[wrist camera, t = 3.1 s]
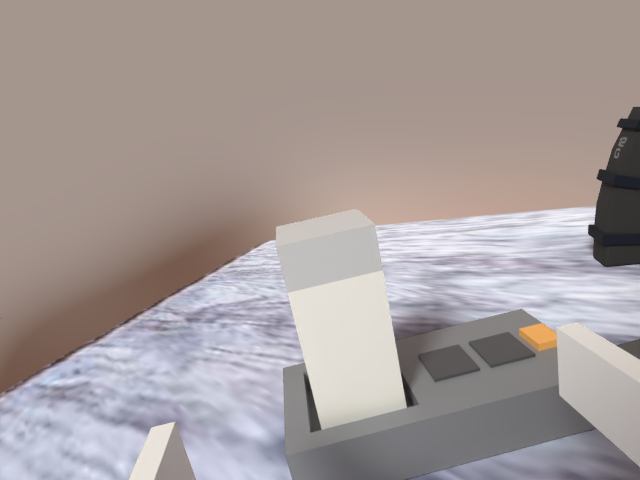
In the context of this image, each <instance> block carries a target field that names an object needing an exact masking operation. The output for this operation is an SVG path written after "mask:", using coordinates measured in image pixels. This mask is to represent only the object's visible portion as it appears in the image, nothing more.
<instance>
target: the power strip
mask: <svg viewBox="0 0 640 480" xmlns="http://www.w3.org/2000/svg"><path fill="white" fill-rule="evenodd" d="M395 343H396V349H397V355H398V360H399V366H400V372H401V377H402V383H403V389H404V395H405V400H406V406H407V408H404V409H400V410H397V411H393V412H389V413H385V414H381V415H377V416H373V417H369V418H366V419H362V420H358V421H354V422H350V423H346V424H342V425H338V426H335V427H331V428H327V429H323V430H322V429H321V425H320V421H319V417H318V413H317V409H316V405H315V401H314V397H313V393H312V389H311V385H310V381H309V377H308V373H307V369H306V365H305V363H302V364H298V365H294V366H290V367H286V368H283V383H284V416H285V450H286V459H287V462H288V466H289V469H290V473H291V476H292V480H405V479H409V478H413V477H417V476H420V475H424V474H428V473H431V472H435V471H439V470H443V469H446V468H450V467H454V466H458V465H461V464H465V463H469V462H473V461H476V460H480V459H484V458H487V457H491V456H495V455H499V454H502V453H506V452H510V451H514V450H517V449H521V448H525V447H529V446H532V445H536V444H540V443H543V442H547V441H551V440H555V439H558V438H562V437H566V436H570V435H573V434H577V433H581V432H585V431H588V430H592V429H596V427H594V426H593V425H592V424H591V423H590V422H589V421H588V420H587V419H586V418H584V417H583V416H582V415H581V414H580V413H579V412H578V411H577V410H575V409H574V408H573V407H572V406H571V405H570V404H569V403H568V402H566V401H565V400H564V399H563V398H562V397H561V396H560V395H559V376H558V354H557V333H556V332H554V331H553V330H552V329H550V328H549V327H547V326H546V325H544V324H543V323H541V322H540V321H538V320H537V319H535V318H534V317H532V316H531V315H530V314H528V313H527V312H525V311H524V310H522V309H520V310H516V311H512V312H508V313H504V314H500V315H496V316H492V317H488V318H483V319H479V320H475V321H471V322H467V323H463V324H459V325H455V326H451V327H447V328H443V329H439V330H435V331H431V332H427V333H423V334H419V335H415V336H411V337H407V338H403V339H399V340H395ZM616 346H618V347H619V348H621V349H623V350H624V351H626V352H628V353H629V354H631V355H633V356H634V357H636V358H638V359H639V360H640V339H639V340H635V341H631V342H627V343H623V344H619V345H616Z"/></svg>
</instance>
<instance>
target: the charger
mask: <svg viewBox="0 0 640 480" xmlns="http://www.w3.org/2000/svg"><path fill="white" fill-rule="evenodd" d="M276 248H277V252H278V256H279V260H280V264H281V268H282V272H283V276H284V280H285V284H286V289H287V293H288V297H289V301H290V305H291V309H292V313H293V317H294V321H295V325H296V329H297V333H298V337H299V341H300V345H301V349H302V353H303V357H304V361H305V365H306V369H307V373H308V377H309V381H310V385H311V389H312V393H313V397H314V401H315V405H316V409H317V413H318V417H319V421H320V425H321V429H322V430H323V429H327V428H331V427H335V426H338V425H342V424H346V423H350V422H354V421H358V420H362V419H366V418H369V417H373V416H377V415H381V414H385V413H389V412H393V411H397V410H400V409H404V408H407V406H406V400H405V395H404V389H403V383H402V377H401V372H400V366H399V360H398V355H397V349H396V343H395V337H394V332H393V326H392V320H391V315H390V309H389V303H388V297H387V292H386V286H385V280H384V274H383V269H382V263H381V257H380V252H379V246H378V240H377V234H376V229H375V224H374V223H373V222H372V221H371V220H370V219H368V218H367V217H366V216H365V215H363V214H362V213H361V212H360V211H359V210H358V209H354V210H349V211H344V212H340V213H336V214H331V215H327V216H322V217H318V218H313V219H309V220H305V221H300V222H296V223H292V224H287V225H283V226H278V227H276Z"/></svg>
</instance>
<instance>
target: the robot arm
mask: <svg viewBox="0 0 640 480" xmlns="http://www.w3.org/2000/svg"><path fill="white" fill-rule="evenodd" d="M556 332H557V354H558V376H559V395H560V396H561V397H562V398H563V399H564V400H565V401H566V402H568V403H569V404H570V405H571V406H572V407H573V408H574V409H575V410H577V411H578V412H579V413H580V414H581V415H582V416H583V417H584V418H586V419H587V420H588V421H589V422H590V423H591V424H592V425H593V426H594V427H596V428H597V429H598V430H599V431H600V432H601V433H602V434H603V435H605V436H606V437H607V438H608V439H609V440H610V441H611V442H612V443H613V444H615V445H616V446H617V447H618V448H619V449H620V450H621V451H622V452H624V453H625V454H626V455H627V456H628V457H629V458H630V459H631V460H632V461H634V462H635V463H636V464H637V465H638V466H639V467H640V360H639V359H638V358H636V357H634V356H633V355H631V354H629V353H628V352H626V351H624V350H623V349H621V348H619V347H618V346H616V345H614V344H613V343H611V342H609V341H608V340H606V339H604V338H603V337H601V336H599V335H598V334H596V333H594V332H593V331H591V330H589V329H588V328H586V327H584V326H583V325H581V324H579V323H578V322H576V323H572V324H568V325H564V326H560V327H556ZM129 480H196V478H195V476H194V473H193V470H192V467H191V464H190V462H189V459H188V456H187V453H186V451H185V448H184V445H183V442H182V440H181V437H180V434H179V431H178V429H177V426H176V423H175V422H172V423H168V424H164V425H160V426H156V427H152V428H151V430H150V432H149V435H148V437H147V439H146V441H145V444H144V446H143V448H142V451H141V453H140V455H139V457H138V460H137V462H136V464H135V467H134V469H133V471H132V473H131V476H130V478H129Z"/></svg>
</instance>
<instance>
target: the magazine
mask: <svg viewBox="0 0 640 480" xmlns="http://www.w3.org/2000/svg"><path fill="white" fill-rule="evenodd" d="M617 127H620V128H623V129H622V131H621V133H620V135H619V137H618V139H617V141H616V143H615V145H614V147H613V149H612V152H611V155H610V158H609V162H608V165H607V168H606V170H602V169H600V170H599V173H598V177H597V179H598V180H601V181H602V185H601V189H600V193H599V196H598V200H597V205H596V215H595V225H588V234H589V235H590V236H591V237H593V238H594V252H593V256H594V258H595V259H597V260H598V261H599V262H600V263H601V264H603V265H604V266H618V265H629V264H640V107H633V109H632V111H631V113H630V115H629V117H628V119H620V121H619V123H618V125H617Z"/></svg>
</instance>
